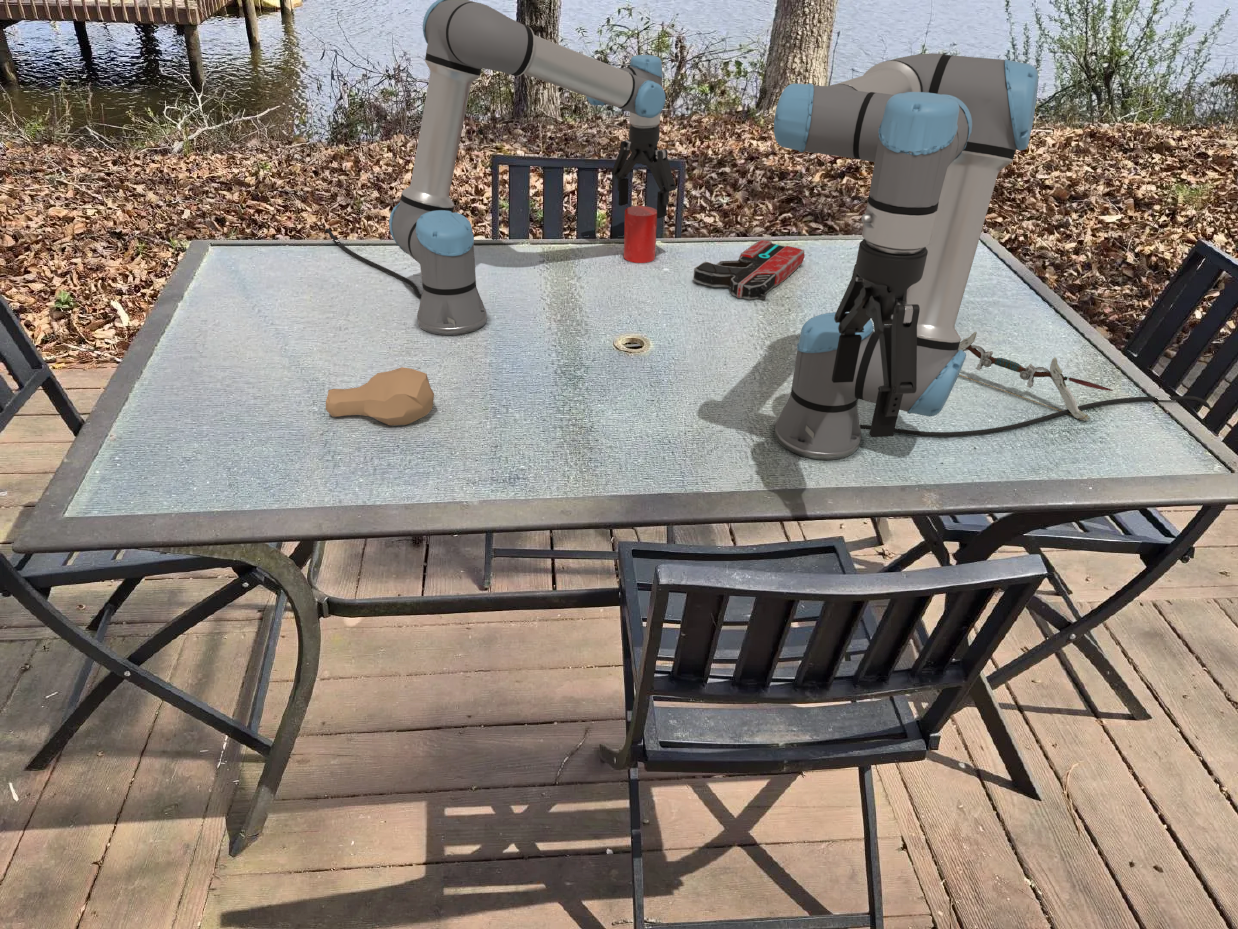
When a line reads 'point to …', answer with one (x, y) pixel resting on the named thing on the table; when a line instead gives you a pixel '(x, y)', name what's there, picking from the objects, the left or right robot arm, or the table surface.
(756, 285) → the gun
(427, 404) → the squash
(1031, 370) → the bow
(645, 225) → the tin
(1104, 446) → the table surface
